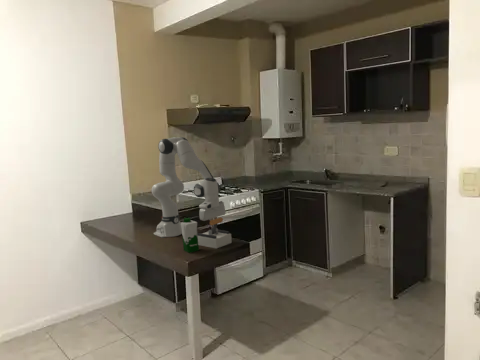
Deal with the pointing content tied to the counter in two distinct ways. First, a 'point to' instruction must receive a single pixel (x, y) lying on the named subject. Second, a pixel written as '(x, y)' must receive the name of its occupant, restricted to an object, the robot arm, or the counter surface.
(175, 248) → the counter surface
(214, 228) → the lever
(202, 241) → the box
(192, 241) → the milk carton
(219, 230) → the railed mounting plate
